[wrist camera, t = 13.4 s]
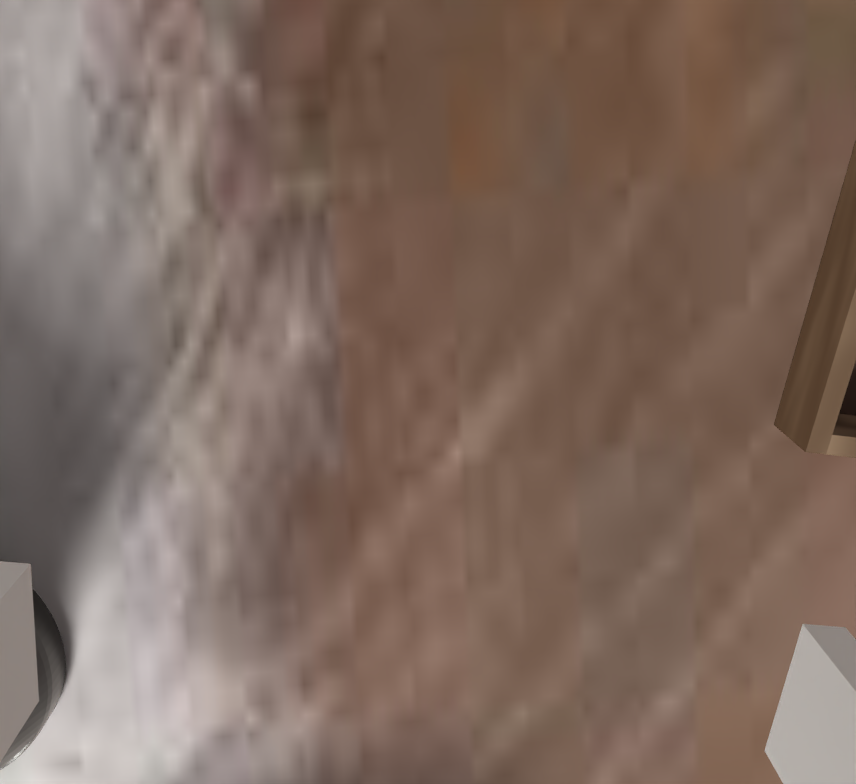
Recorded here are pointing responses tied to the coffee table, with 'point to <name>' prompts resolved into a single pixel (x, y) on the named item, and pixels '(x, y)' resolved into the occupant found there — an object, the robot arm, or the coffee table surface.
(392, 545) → the coffee table surface
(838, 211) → the wooden tray
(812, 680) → the robot arm
